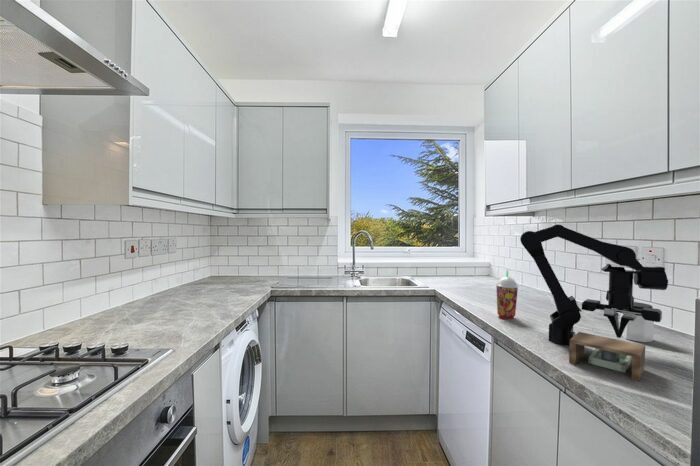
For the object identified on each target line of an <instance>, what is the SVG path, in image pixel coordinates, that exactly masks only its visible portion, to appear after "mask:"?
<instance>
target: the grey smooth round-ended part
mask: <svg viewBox="0 0 700 466" xmlns="http://www.w3.org/2000/svg"><path fill="white" fill-rule="evenodd" d="M601 359H604V360H608V361H612V362H617V353H614V352H610V351H605V350H601Z"/></svg>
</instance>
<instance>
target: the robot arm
mask: <svg viewBox="0 0 700 466" xmlns="http://www.w3.org/2000/svg"><path fill="white" fill-rule="evenodd" d="M555 238H560V239H562V240H564V241H567V242H570V243H573V244H575V245H578V246H580V247H582V248H585V249H588V250H590V251H592V252H595V253H596V254H598V255H600V256H601V257H603V258H605V259H607V260H608V261H610V262H612V263H613V264H616V265H619V266H612V265H611V264H610V263H606V265H605V266H603V267H602V268H601V269H600V270H601V271H602V272H605V273H609V274H608V275H609V276H608V290H607V291H606V297H605V299H606V302H607V301H608V304H604V303H601V300H596V299H591V298H587V299H585V300H584V301H582V302H581V308H580V307H579V306H578V303H577V300H576V298H575V297H574V296H573V295H570V296H568V295H567V294H566V292H565V290H564V289H563V287H562V285H561V282H560V281H559V280H558V277H557V275H556V273H555V272H554V270H553V268H552V266H551V264H550V262H549V260H548V258H547V256H546V254H545V251H544V248H543V247H544V246H543V243H544V242H547V241H550V240H552V239H555ZM519 240H520V243H521V245H522V246H523V248H524V249H525V250H526V252H527V253H528V255H530V257H531V258H532V259H533V261H534V262H535V264H536V266H537V268H538V270H539V272H540V274H541V276H542V277H543V280H544V282H545V284H546V286H547V287H548V289H549V291H550V293H551V295H552V298H553V301H554V304H555V308H556V311H554V312H552V313H551V314H550V315H549V317H550V320H551V323H549V324H548V342H550V343H553V344H556V345H558V346H559V345H560V346H569V347H570V339H571V338H572V337H573V336H575V335H576V332H575V331H574V326H575V325H576V324H578V323H579V322H580V321H581V319H582V315H581V313H582V311H587V312H594V311H595V310H601V311H603V312H604V313H603V315H602V316H603V317H605V318H607V319H608V320H609V322H610V324H611V326H612V328H613V330H614V333H615V335H616V338H619V339H621V338H622V334H623V332H624V329H625V327H626V325H627V324H628V322H629V321H630V320H631V321H634V320H635V318H636V315H638V316H642V317H643V318H644V319H645V320H648V321H654V322H656V323H661V321H662V319H663V318H662V317H663V311H662V310H661V309H659V308H654V307H653V308H647V307H644V308H643V309H642V310H640V309H633V307H634V302H635V297H634V296H633V295H634V294H633V291H634V290H633V288H634V285H636V286H638V288H639V289H645V290H655V291H656V290H657V291H666V290H667V288H668V287H669V279H668V276H667V273H666V267H663V266H643V265H642V264H641V263H640V261H639V260H638V259H637V254H636V251H634V249H633V248H631V247H629V246H623V245H620V244H619V245H618V244H615V243H614V244H613V243H610V242H605V241H602V240H599V239H596V238H593V237H592V236H588V235H586V234H584V233H581V232H579V231H576V230H573V229H570V228H568V227H566V226H564V225H562V224H554V225H552V226H549V227H546V228H543V229H539V230H536V231H532V230H527V231H524V232H523V233H522V234H521V235H520V237H519ZM625 267H626V268H629V269H631V270H628V269H626V268H625ZM620 313H623V314H624V315H623V316H622V317H621V321H620V320H619V314H620Z"/></svg>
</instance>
